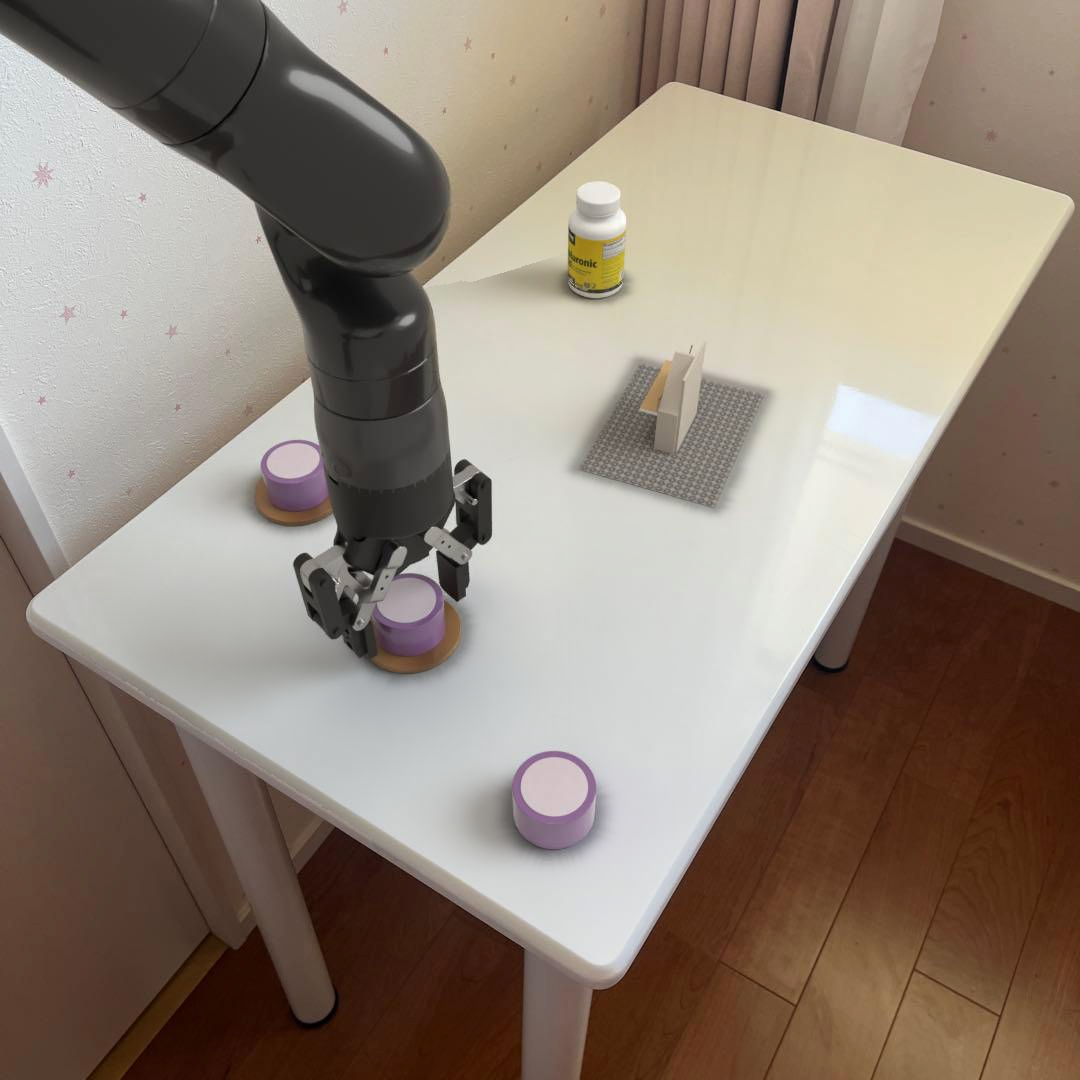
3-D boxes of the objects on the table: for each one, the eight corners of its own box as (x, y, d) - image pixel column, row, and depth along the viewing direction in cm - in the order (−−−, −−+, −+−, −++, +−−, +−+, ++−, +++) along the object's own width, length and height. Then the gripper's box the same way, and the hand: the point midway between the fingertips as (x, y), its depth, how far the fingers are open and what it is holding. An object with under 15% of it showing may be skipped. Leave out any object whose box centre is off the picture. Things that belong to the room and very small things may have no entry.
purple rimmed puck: (551, 865, 65) (551, 840, 63) (496, 809, 68) (494, 783, 66) (611, 814, 68) (613, 788, 65) (556, 762, 70) (556, 735, 68)
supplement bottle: (555, 280, 107) (556, 188, 100) (599, 262, 110) (603, 170, 102) (590, 307, 104) (593, 213, 97) (634, 287, 107) (641, 194, 99)
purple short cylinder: (290, 521, 84) (283, 492, 82) (255, 487, 87) (247, 458, 84) (344, 490, 86) (339, 462, 84) (308, 458, 89) (302, 430, 87)
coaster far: (287, 539, 84) (285, 535, 83) (238, 492, 87) (236, 487, 87) (362, 496, 87) (361, 492, 86) (312, 452, 90) (311, 447, 90)
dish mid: (403, 668, 75) (399, 640, 72) (360, 626, 77) (354, 597, 75) (460, 630, 77) (458, 601, 75) (416, 589, 79) (413, 561, 77)
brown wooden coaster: (401, 691, 74) (400, 687, 74) (341, 630, 77) (340, 626, 77) (481, 636, 77) (481, 631, 77) (420, 580, 81) (419, 575, 80)
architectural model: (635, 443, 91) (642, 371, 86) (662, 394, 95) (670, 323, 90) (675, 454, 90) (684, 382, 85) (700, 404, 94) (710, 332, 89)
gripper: (441, 361, 70) (456, 541, 82) (244, 465, 63) (291, 644, 75) (519, 419, 66) (523, 599, 78) (318, 535, 59) (356, 712, 71)
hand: (409, 621), depth 76 cm, fingers open, 7 cm apart
